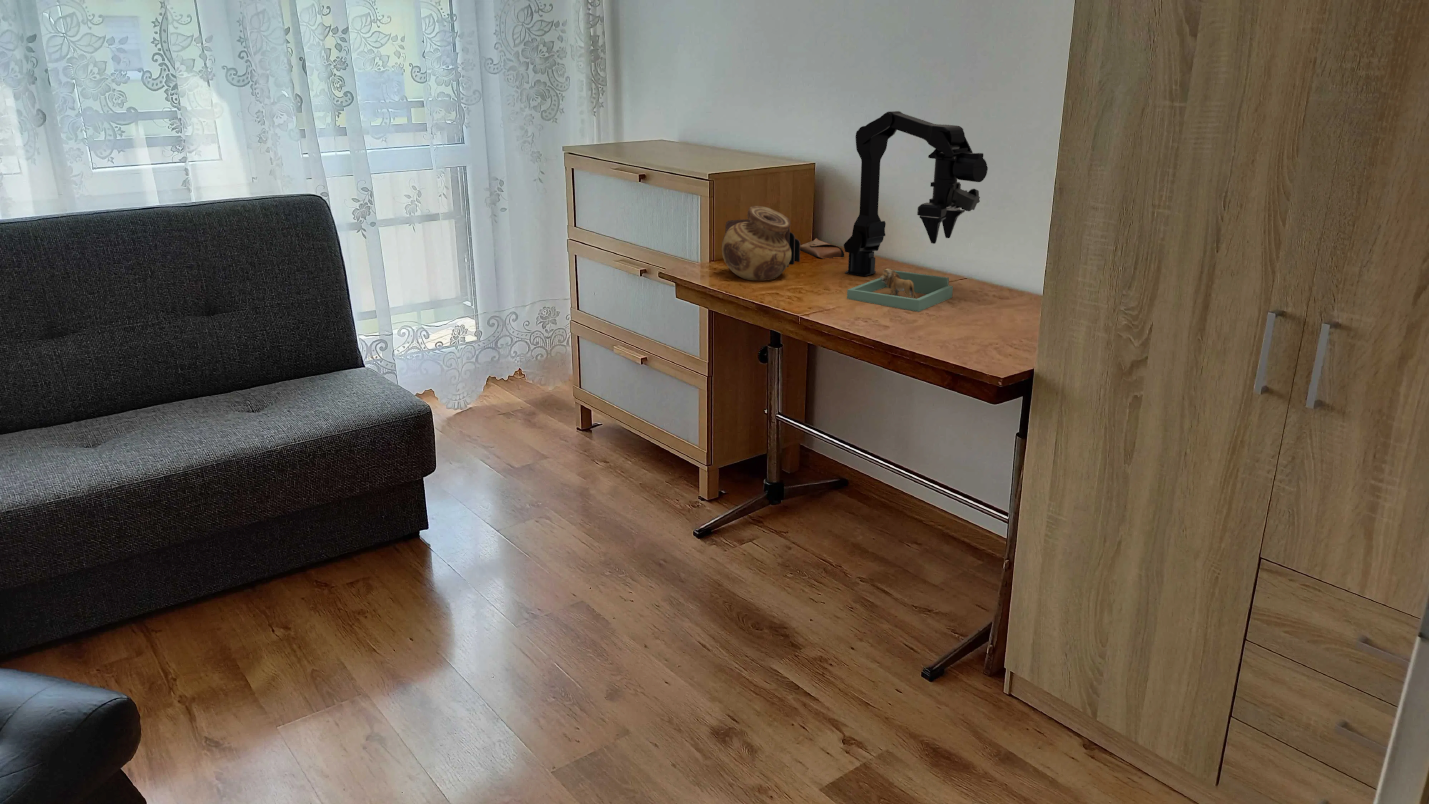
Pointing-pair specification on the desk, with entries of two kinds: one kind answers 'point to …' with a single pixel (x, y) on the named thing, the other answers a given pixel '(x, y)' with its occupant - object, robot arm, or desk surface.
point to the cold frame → (923, 284)
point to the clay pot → (758, 245)
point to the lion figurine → (897, 283)
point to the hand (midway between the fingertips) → (940, 240)
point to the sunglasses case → (822, 249)
